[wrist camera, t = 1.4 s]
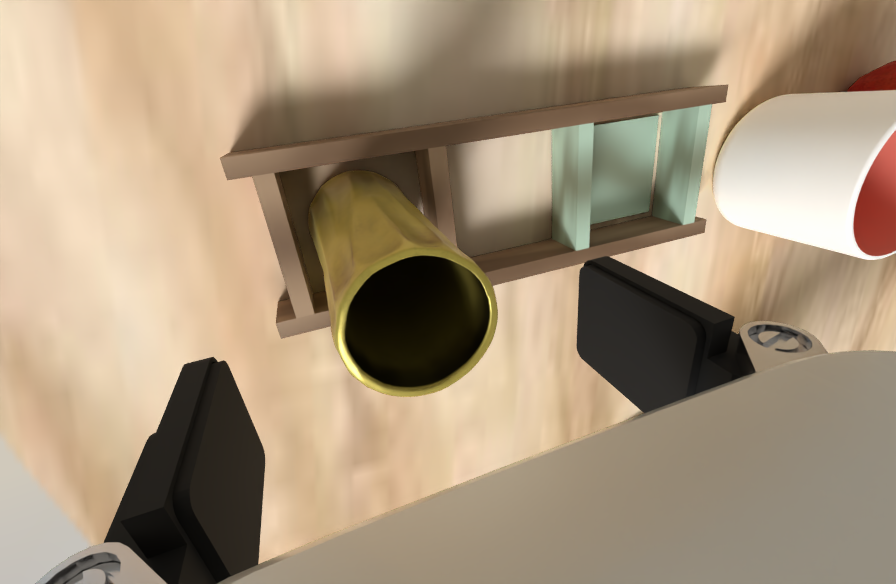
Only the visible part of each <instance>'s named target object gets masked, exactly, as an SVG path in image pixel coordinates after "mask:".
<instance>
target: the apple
mask: <svg viewBox="0 0 896 584" xmlns="http://www.w3.org/2000/svg"><path fill="white" fill-rule="evenodd" d="M885 90H896V61H893V62H890V63H888V64H886V65H884V66H882V67H880V68H877V69H875V70H873V71H872V72H870V73H868V74H866V75H864V76H862V77H860V78H859V79H858V80H857V81H856V82H855V83H854V84H853V85H852V86H851V87H850V88H849V89H848V90H847V92H858V91H885Z"/></svg>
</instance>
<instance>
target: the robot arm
mask: <svg viewBox="0 0 896 584" xmlns="http://www.w3.org/2000/svg"><path fill="white" fill-rule="evenodd" d="M734 318H735V317H734V316H731V315H729V314H727V313H725V312H723V311H721V310H719V309H717V308H715V307H713V306H711V305H709V304H706V303H704V302H702V301H700V300H698V299H696V298H694V297H692V296H690V295H688V294H686V293H683V292H681V291H679V290H677V289H675V288H673V287H671V286H669V285H667V284H665V283H663V282H661V281H658V280H656V279H654V278H652V277H650V276H648V275H646V274H644V273H642V272H640V271H638V270H635V269H633V268H631V267H629V266H627V265H625V264H623V263H621V262H619V261H617V260H615V259H613V258H610V257H608V256H604V257H600V258H596V259H592V260H588V261H586V262H585V264H584V267H582V268H581V270H580V275H579V300H578V325H577V351H578V353H579V355H580V357H581V358H582V359H583V360H584V361H585V362H586V363H587V364H589V365H590V366H591V367H592V368H593V369H594V370H596V371H597V372H598V373H599V374H600V375H601V376H602V377H604V378H605V379H606V380H607V381H608V382H609V383H610V384H612V385H613V386H614V387H615V388H616V389H617V390H618V391H620V392H621V393H622V394H623V395H624V396H625V397H626V398H628V399H629V400H630V401H631V402H632V403H633V404H634V405H636V406H637V407H638V408H639V409H640V410H641V411H643V412H644V414H642V415H639V416H636V417H634V418H631V419H628V420H626V421H623V422H620V423H618V424H615V425H612V426H610V427H607V428H604V429H602V430H599V431H596V432H594V433H591V434H589V435H586V436H583V437H581V438H578V439H575V440H573V441H570V442H568V443H565V444H562V445H560V446H557V447H554V448H552V449H549V450H547V451H544V452H541V453H539V454H536V455H534V456H531V457H528V458H526V459H523V460H520V461H518V462H515V463H513V464H510V465H507V466H505V467H502V468H500V469H497V470H494V471H492V472H489V473H487V474H484V475H481V476H479V477H476V478H474V479H471V480H469V481H466V482H463V483H461V484H458V485H456V486H453V487H451V488H448V489H445V490H443V491H440V492H438V493H435V494H432V495H430V496H427V497H425V498H422V499H420V500H417V501H414V502H412V503H409V504H407V505H404V506H402V507H399V508H396V509H394V510H391V511H389V512H386V513H384V514H381V515H378V516H376V517H373V518H371V519H368V520H366V521H363V522H361V523H358V524H356V525H353V526H350V527H348V528H345V529H343V530H340V531H338V532H335V533H333V534H330V535H328V536H325V537H323V538H320V539H318V540H315V541H313V542H310V543H308V544H305V545H303V546H301V547H298V548H296V549H293V550H291V551H289V552H286V553H284V554H282V555H279V556H277V557H275V558H272V559H270V560H268V561H265V562H263V563H261V564H258V560H259V545H260V530H261V516H262V501H263V487H264V472H265V454H264V449H263V446H262V443H261V441H260V439H259V436H258V434H257V432H256V429H255V427H254V425H253V422H252V420H251V418H250V415H249V413H248V411H247V408H246V406H245V403H244V401H243V399H242V396H241V394H240V392H239V389H238V387H237V385H236V382H235V380H234V378H233V375H232V373H231V371H230V368H229V366H228V364H227V363H226V361H220V362H217V360H216V359H215V358H214V357H211V358H207V359H203V360H199V361H195V362H191V363H187V364H184V366H183V368H182V370H181V373H180V375H179V378H178V380H177V383H176V385H175V387H174V390H173V392H172V395H171V397H170V400H169V402H168V405H167V407H166V410H165V412H164V415H163V417H162V419H161V422H160V424H159V427H158V429H157V432H156V433H154V434H152V435H151V436H150V437H149V438H148V440H147V442H146V444H145V446H144V449H143V451H142V453H141V456H140V458H139V460H138V463H137V465H136V468H135V470H134V472H133V475H132V477H131V479H130V482H129V484H128V486H127V489H126V491H125V493H124V496H123V498H122V501H121V503H120V505H119V508H118V510H117V512H116V515H115V517H114V519H113V522H112V524H111V526H110V529H109V531H108V534H107V536H106V538H105V541H104V543H102V544H99V545H95V546H92V547H89V548H87V549H85V550H83V551H80V552H78V553H77V554H74V555H72V556H70V557H69V558H68V559H66V560H65V561H63V562H62V563H60V564H59V565H57V566H56V567H54V568H53V569H51V570H50V571H49V572H48V573H47V574H46V575H45V576H44V577H42V578H41V579H40V580H39V581H38V582H37V583H35V584H896V352H893V351H874V350H870V351H842V352H835V353H828V352H827V351H826V349H825V348H824V346H823V345H822V344H821V342H820V341H819V340H818V339H817V338H816V337H815V336H814V335H812V334H810V333H809V332H807V331H805V330H803V329H800V328H798V327H795V326H792V325H788V324H784V323H780V322H773V321H755V322H749V323H747V324H744V325H743V326H742V327H741V328H740V330H739V334H736V333H734V332H732V331H731V330H732V326H733V322H734Z"/></svg>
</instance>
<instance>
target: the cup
mask: <svg viewBox="0 0 896 584" xmlns="http://www.w3.org/2000/svg"><path fill="white" fill-rule="evenodd" d="M713 194H714V199H715V202H716V205H717V207H718V209H719V211H720V212H721V214H722V215H723V216H724V217H725V218H726V219H727V220H728V221H730V222H731V223H733V224H734V225H737V226H739V227H742V228H746V229H750V230H754V231H758V232H762V233H766V234H769V235H773V236H777V237H781V238H785V239H789V240H792V241H796V242H800V243H804V244H808V245H812V246H816V247H819V248H823V249H827V250H831V251H835V252H839V253H843V254H846V255H850V256H854V257H858V258H862V259H866V260H876V259H881V258H884V257H888V256H890V255H892V254H894V253H896V90H885V91H858V92H831V93H804V94H786V95H781V96H777V97H774V98H771V99H769V100H767V101H765V102H763V103H761V104H759V105H758V106H756V107H755V108H753V109H752V110H751V111H750V112H748V113H747V114H746V115H745V116H744V117H743V118H742V119H741V120H740V121H739V122H738V123H737V124H736V126H735V127H734V128H733V130H732V131H731V132H730V134H729V135H728V137H727V139H726V140H725V142H724V144H723V146H722V148H721V151H720V153H719V156H718V158H717V161H716V165H715V169H714V175H713Z"/></svg>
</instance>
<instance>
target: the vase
mask: <svg viewBox="0 0 896 584" xmlns="http://www.w3.org/2000/svg"><path fill="white" fill-rule="evenodd" d="M308 226H309V232H310V235H311V237H312V240H313V242H314V244H315V247H316V251H317V254H318V257H319V260H320V263H321V266H322V269H323V272H324V281H325V288H326V294H327V300H328V308H329V315H330V321H331V332H332V337H333V341H334V344H335V347H336V349H337V351H338V353H339V355H340V356H341V359H342V360H343V362H344V364H345V366H346V368H347V370H348V371H349V373H350V374H351V375H352V376H353V377H355V378H356V379H357V380H359V381H360V382H361V383H362V384H364V385H365V386H366V387H368V388H371V389H373V390H375V391H378V392H380V393H384V394H387V395H391V396H400V397H412V396H422V395H426V394H431V393H434V392H437V391H440V390H443V389H445V388H447V387H448V386H450V385H452V384H453V383H455V382H456V381H458V380H459V379H461V378H462V377H463V376H464V375H466V374H467V373H468V372H469V371H470V370H471V369H472V368H473V367H474V366H475V365H476V364H477V363H478V362H479V360H480V359H481V358H482V356H483V355H484V353H485V352H486V350H487V349H488V347H489V346H490V344H491V342H492V339H493V336H494V333H495V329H496V325H497V319H498V309H497V302H496V297H495V293H494V289H493V286H492V284H491V282H490V280H489V278H488V277H487V276H486V274H485V273H484V272H483V271H482V270H481V269H480V268H479V266H478V265H477V264H476V263H475V262H474V261H473V260H472V259H471V258H470V257H468V256H467V255H465V254H464V253H463V252H462V251H461V250H460V249H458V248H457V247H456V246H455V245H454V244H453V243H452V242H451V241H450V240H449V239H448V238H447V237H446V236H445V235H444V234H443V233H442V232H441V231H439V230H438V229H437V228H436V227H435V226H434V225H433V224H432V223H431V222H430V221H429V220H428V219H427V218H426V217H425V216H424V215H423V214H422V213H421V212H420V211H419V210H418V209H417V208H416V207H415V206H414V205H413V204H412V203H411V202H410V201H409V200H408V199H407V198H406V197H405V196H404V195H403V193H402V192H401V190H400V189H399V188H398V187H397V186H396V184H394V183H393V182H392V181H391V180H389V179H387V178H385V177H383V176H381V175H379V174H377V173H375V172H371V171H364V170H353V171H347V172H344V173H341V174H339V175H337V176H335V177H333V178H331V179H330V180H328V181H327V182H326V183H325V184H324V185H322V187H321V188H320V189H319V191H318V192H317V194H316V196H315V198H314V199H313V201H312V203H311V205H310V209H309V218H308Z"/></svg>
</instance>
